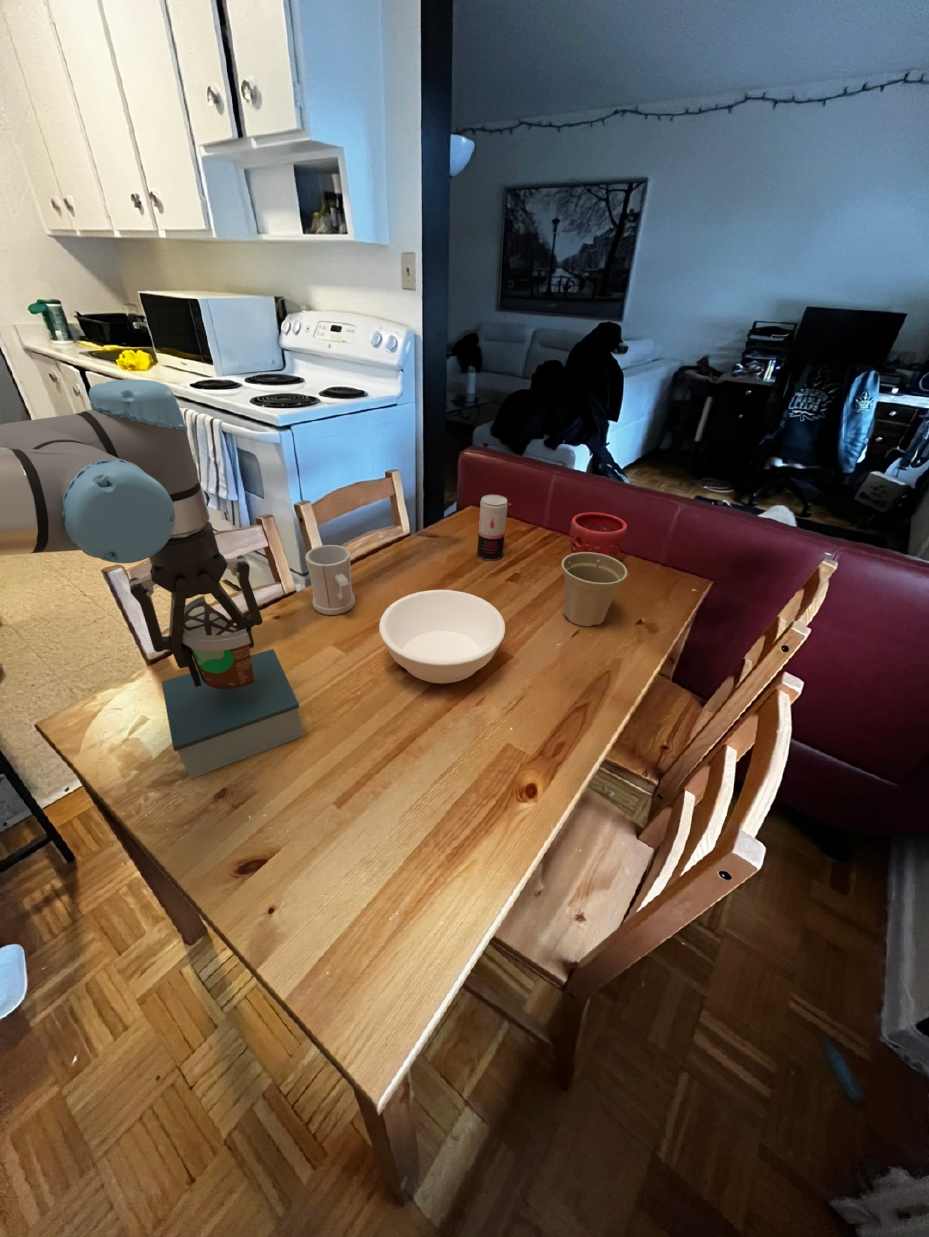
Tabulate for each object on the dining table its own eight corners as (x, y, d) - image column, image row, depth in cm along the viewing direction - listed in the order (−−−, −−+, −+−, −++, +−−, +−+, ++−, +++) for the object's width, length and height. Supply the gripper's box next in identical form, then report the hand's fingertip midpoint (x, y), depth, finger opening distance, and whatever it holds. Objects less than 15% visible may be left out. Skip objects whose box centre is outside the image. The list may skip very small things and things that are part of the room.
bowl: (409, 717, 81) (408, 679, 76) (365, 640, 97) (362, 604, 92) (524, 678, 90) (529, 642, 85) (466, 613, 106) (468, 579, 101)
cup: (369, 599, 109) (365, 550, 102) (349, 622, 102) (343, 571, 95) (326, 589, 111) (320, 541, 104) (304, 611, 104) (295, 561, 97)
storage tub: (188, 781, 70) (173, 747, 66) (175, 714, 80) (161, 681, 75) (305, 736, 77) (299, 703, 73) (280, 680, 87) (273, 648, 83)
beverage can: (505, 552, 130) (511, 497, 121) (497, 563, 125) (503, 507, 116) (482, 547, 131) (486, 492, 123) (473, 557, 126) (476, 501, 118)
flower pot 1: (623, 562, 128) (634, 519, 121) (606, 584, 119) (617, 538, 112) (575, 548, 133) (583, 505, 126) (556, 567, 124) (563, 523, 117)
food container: (175, 666, 73) (156, 610, 67) (216, 648, 77) (201, 593, 71) (218, 709, 67) (201, 651, 61) (260, 687, 71) (248, 630, 65)
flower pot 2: (549, 597, 113) (558, 549, 106) (607, 600, 113) (619, 553, 106) (556, 631, 102) (566, 581, 95) (620, 635, 102) (634, 585, 95)
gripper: (253, 501, 65) (282, 639, 79) (78, 529, 57) (145, 678, 70) (267, 523, 60) (296, 666, 74) (78, 557, 52) (150, 713, 65)
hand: (222, 672), depth 72 cm, fingers closed on food container, 6 cm apart
